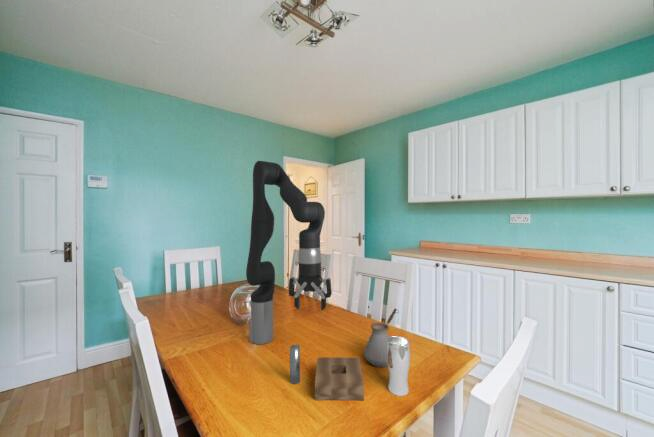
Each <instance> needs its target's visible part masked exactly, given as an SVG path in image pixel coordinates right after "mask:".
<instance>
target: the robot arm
mask: <svg viewBox="0 0 654 437" xmlns="http://www.w3.org/2000/svg"><path fill="white" fill-rule="evenodd" d="M253 165H254V166H253V170H252V209H251V210H252V211H251V212H252V213H251V224H250V240H249V249H248V250H249V251H248V258H247V264H246V270H245V273H246V274H245V275H246V276H245V277H246V281H247V283H248V285H250V286H252V287H253V286H258V287H257V289H255V290H254V291H252V292H251V293H250V319H249V343H253V344H255V345H266V344H268V343H270V342H272V341H274V294H275V286H276V285H275V284H276V283H275V282H276V271H275V267H274V265H273V263H272V262H271V261H267V260H266V261H265V260H264V261H262V256H263V254H264V253H263V252H264V250H265V248H266V247H267V245H268V244H269V242H270V241H271V239H272V237H273V236H274V235H273V234H274V230H275V216H274V212H273V210H272V208H271V206H270V205H269V202H268V199H267V197H266V189H265V188H266V186H265V185H267V186H276V187H278V188H279V195H280V197H281V199H282V201H283V202H284V203H285V204H286V205H287V206H288V207H289V209H290V212H291V213H292V216H293V218H294V220H295V221H297V222H299V223H302V224H303V223H305V224H306V223H308V227H307V228H306V229H303V230H301V231H299V234H298V245H299V246H298V247H299V248H298V277H295V276H292V277H290V278H289V282H288V283H289V284H288V287H289V288H288V296H290V297H292V298H294V300H293V301H294V304H293V305H294V308H296V310H300V308H301V301H300V300H301V296H300V295H301V293H302V292H306V293H307V292H312V293H315V292H316V293H317V294H318V295H319V296H320V298H321V299H320V306H321V308H320V309H321V311H324V310H325V309H326V307H327V298H331V296H332V292H333V291H332V281H331V278H330V277H328V278H323V277H322V253H321V233H322V229H323V225H324V220H325V218H326V217H325V214H326V212H325V207H324V206H323V204H322V203H321V202H320V201H308V197H307V195H306V194H305V193H304V192H303V191H302V190H301V189H300V188H299V187H297V186H296V185H295V184H294V183H293V182H292V180H291V179H290V177H289V176H288V175H287V172H285V170H284V169H283V167H282V166H281V165H280V164H279V163H277V162H271V161H266V160H257V161H256V162H255V163H254V164H253ZM297 283H298V285H299V288H298V290H297V291H295V285H296V284H297ZM322 283H323V285H324V286H325V287H326V292H325V291H324V289H323V287H322V286H321V285H322Z"/></svg>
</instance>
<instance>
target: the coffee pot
mask: <svg viewBox="0 0 654 437" xmlns="http://www.w3.org/2000/svg"><path fill="white" fill-rule="evenodd" d="M397 311H398V312H397ZM398 313H400V311H399V310H398V309H397V308H394V309H393V310H392V312H391V314H390V316H389V317H388V319H387V322H386V323H384V322H374V323H372V324H371V325H370V328H371V330H372V332H371V334H370V336H369V338H368V341H367V343H366V346H365V348H364V350H363V355H364V357H365V359H366V360H367V361H368V362H369V363H370V364H371V365H372V366H375V367H378V368H385V367H386V368H387V367H388V364H387V355H386V349H387V339H388V338H389V337H390V336H389V334H388V331H389V329H390V326H389V325H390V323H391V321H392V320H393V318H394V316H395V315H396V314H398Z"/></svg>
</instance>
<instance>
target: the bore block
mask: <svg viewBox="0 0 654 437" xmlns="http://www.w3.org/2000/svg"><path fill="white" fill-rule="evenodd" d="M316 359H317V360H316V362H317V363H316V368H315V369H316V370H315V378H314V379H315V380H314V401H365V388H364V387H365V386H364V384H365V382H364V378H363V377H364V376H363V372H362V365H361V361H360V357H317V358H316Z"/></svg>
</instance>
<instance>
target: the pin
mask: <svg viewBox="0 0 654 437" xmlns="http://www.w3.org/2000/svg"><path fill="white" fill-rule="evenodd" d="M289 380H290V381H289V383H290V384H292V385H297V384H299V383H300V382H301V347H300V345H298V344H292V345H290V346H289Z"/></svg>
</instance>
